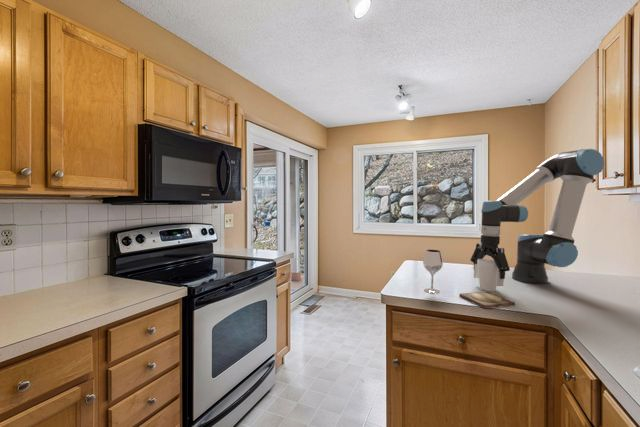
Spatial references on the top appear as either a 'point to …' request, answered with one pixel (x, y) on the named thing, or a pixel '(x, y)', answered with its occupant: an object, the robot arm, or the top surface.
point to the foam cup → (487, 274)
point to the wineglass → (432, 266)
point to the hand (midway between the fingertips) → (487, 281)
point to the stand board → (486, 299)
